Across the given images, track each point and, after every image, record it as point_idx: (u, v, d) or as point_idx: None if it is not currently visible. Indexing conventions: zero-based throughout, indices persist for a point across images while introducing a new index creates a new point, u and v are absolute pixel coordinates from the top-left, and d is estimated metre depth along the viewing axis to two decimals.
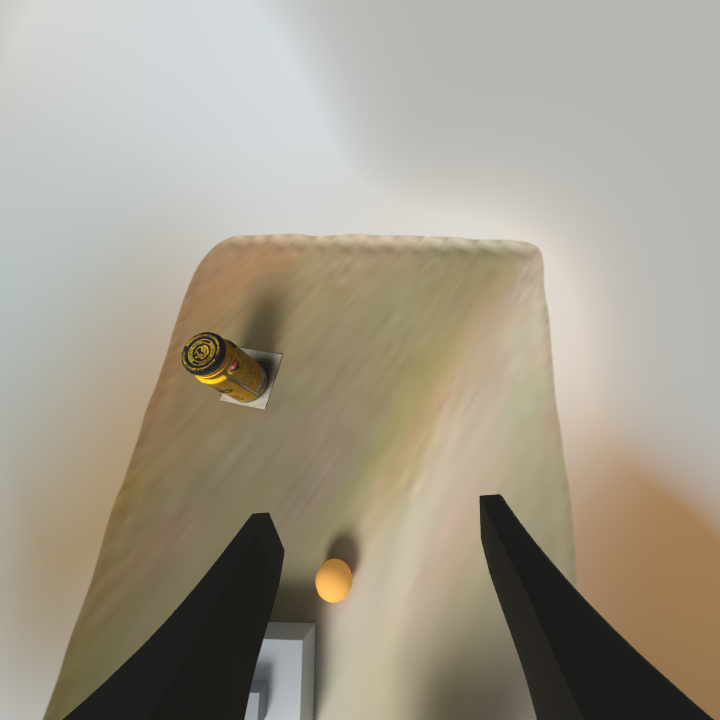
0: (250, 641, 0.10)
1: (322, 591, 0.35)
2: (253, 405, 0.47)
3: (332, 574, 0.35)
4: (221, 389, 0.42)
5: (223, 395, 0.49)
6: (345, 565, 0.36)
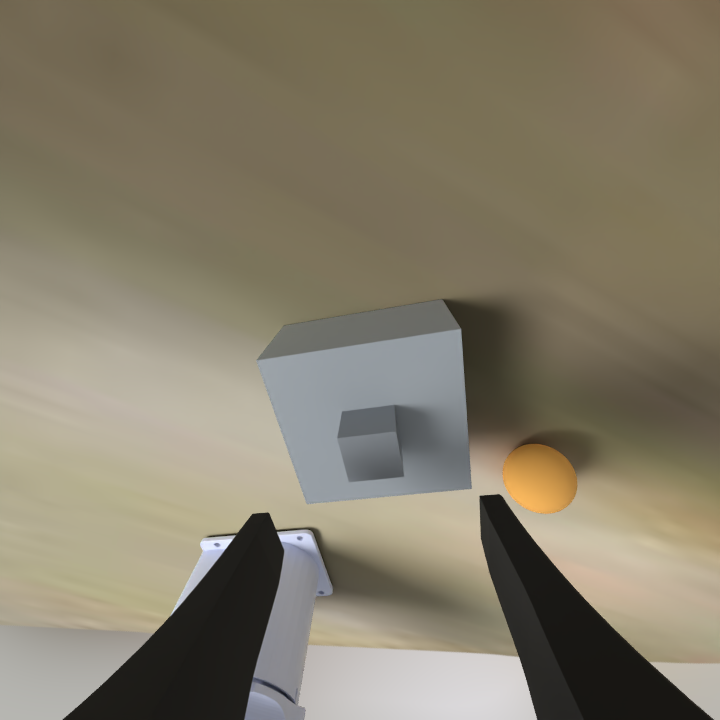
0: (250, 641, 0.10)
1: (538, 489, 0.19)
2: None
3: (567, 502, 0.19)
4: None
5: None
6: None
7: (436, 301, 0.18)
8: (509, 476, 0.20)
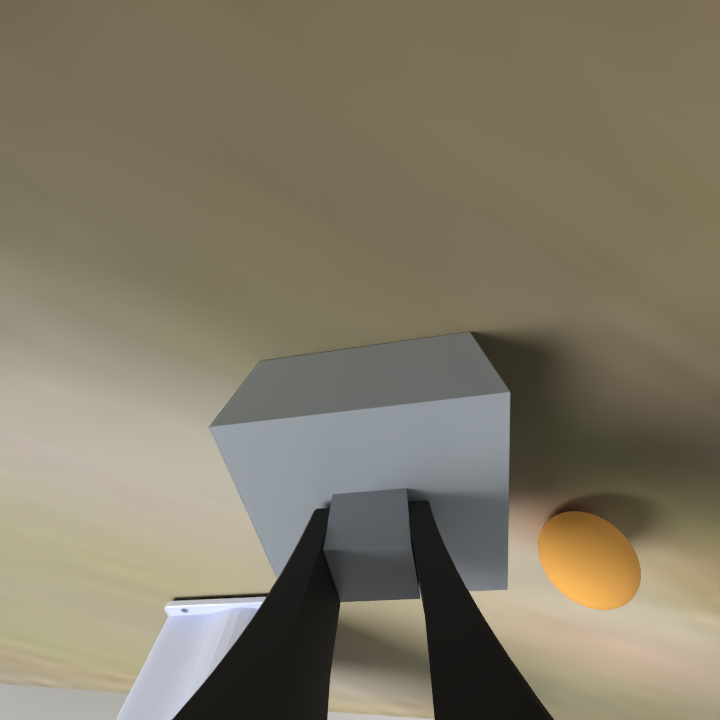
0: (327, 639, 0.09)
1: (592, 583, 0.14)
2: None
3: (629, 600, 0.14)
4: None
5: None
6: None
7: (462, 335, 0.13)
8: (550, 557, 0.15)
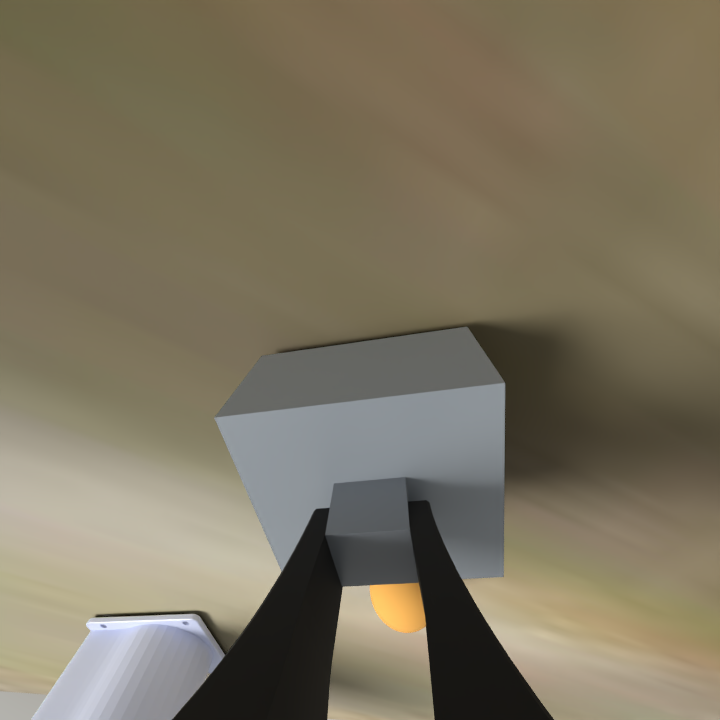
0: (327, 639, 0.09)
1: (391, 611, 0.18)
2: None
3: (423, 625, 0.18)
4: None
5: None
6: None
7: (460, 329, 0.14)
8: (371, 589, 0.19)
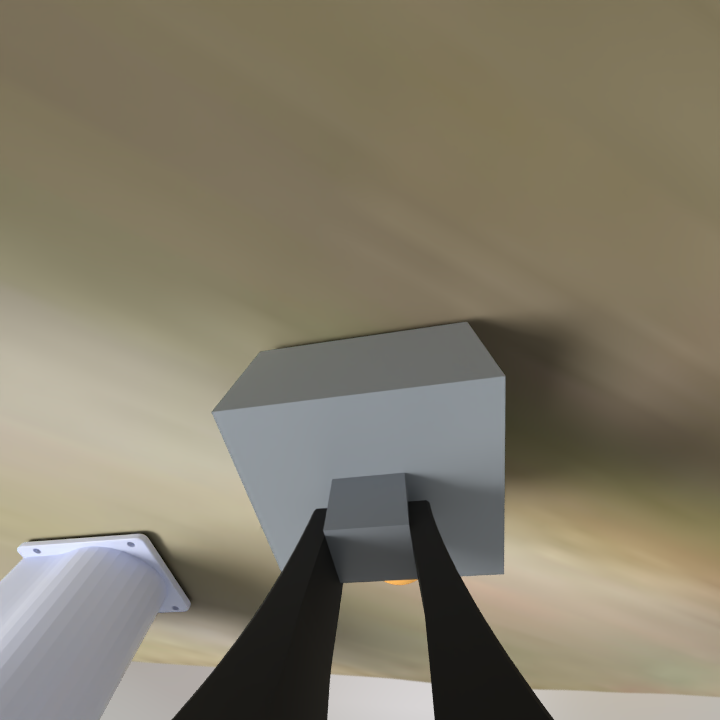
0: (327, 639, 0.09)
1: None
2: None
3: None
4: None
5: None
6: None
7: (459, 324, 0.13)
8: None
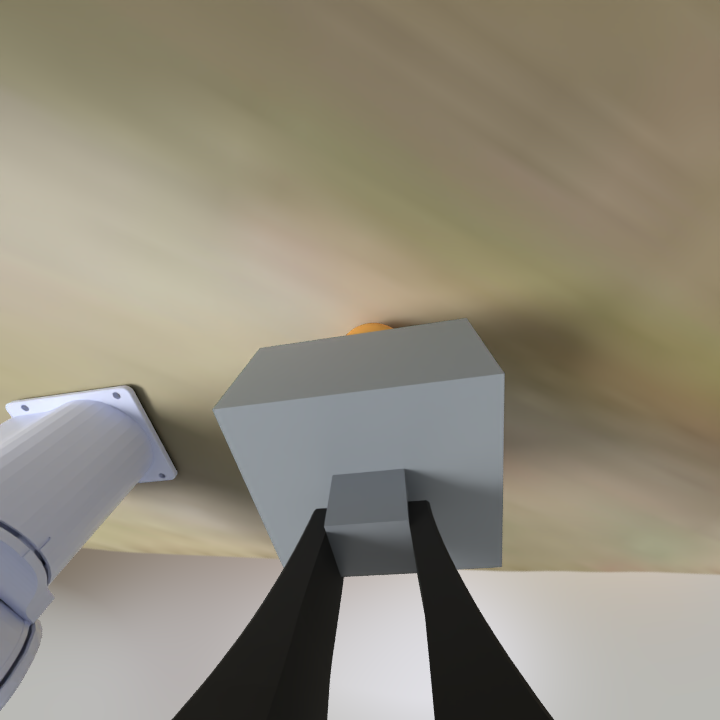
0: (327, 639, 0.09)
1: None
2: None
3: None
4: None
5: None
6: None
7: (459, 321, 0.14)
8: None
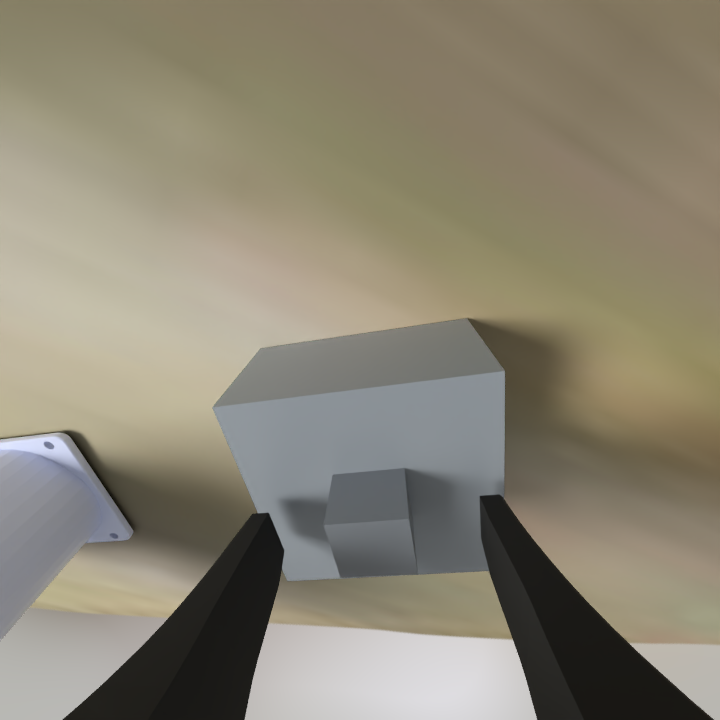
0: (250, 641, 0.10)
1: None
2: None
3: None
4: None
5: None
6: None
7: (459, 321, 0.14)
8: None
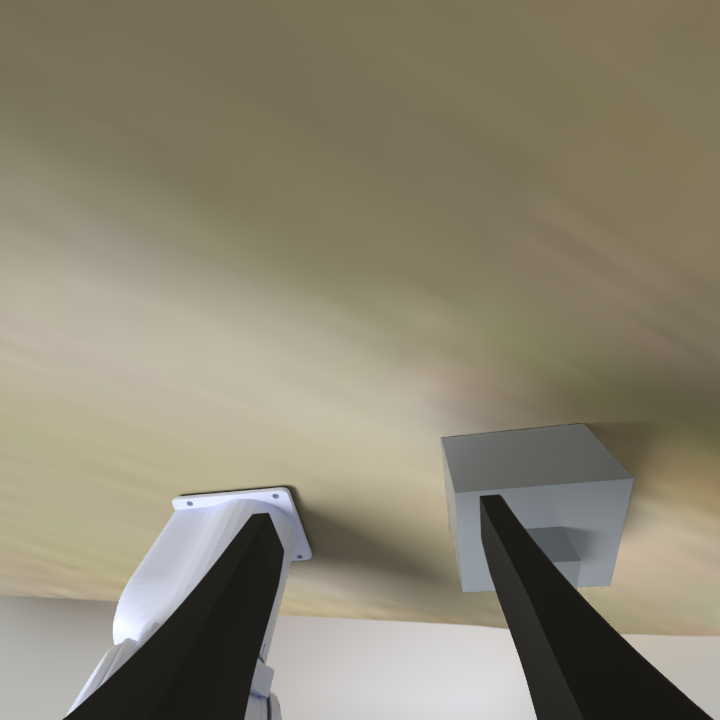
0: (250, 641, 0.10)
1: None
2: None
3: None
4: None
5: None
6: None
7: (580, 426, 0.21)
8: None
